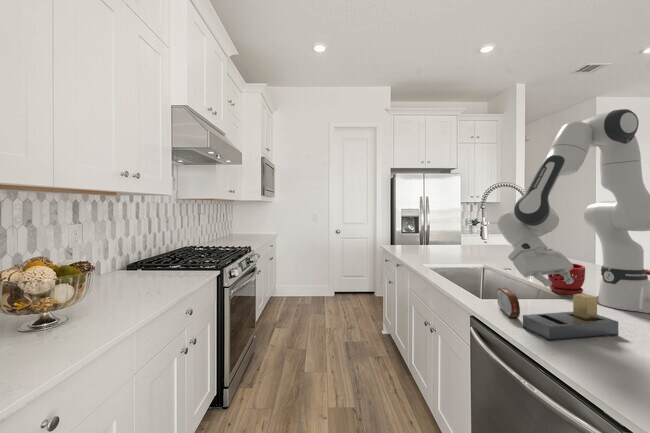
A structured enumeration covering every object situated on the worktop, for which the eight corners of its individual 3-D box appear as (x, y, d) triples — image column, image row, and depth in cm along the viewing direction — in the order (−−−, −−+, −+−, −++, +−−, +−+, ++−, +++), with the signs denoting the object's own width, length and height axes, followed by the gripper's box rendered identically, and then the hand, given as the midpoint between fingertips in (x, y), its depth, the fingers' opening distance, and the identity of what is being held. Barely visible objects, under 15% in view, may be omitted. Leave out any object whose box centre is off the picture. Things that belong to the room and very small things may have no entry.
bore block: (585, 323, 101) (585, 310, 101) (618, 335, 91) (618, 321, 91) (522, 327, 99) (522, 315, 99) (549, 340, 89) (549, 326, 89)
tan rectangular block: (582, 325, 98) (582, 293, 98) (597, 329, 94) (597, 296, 94) (573, 326, 97) (573, 294, 97) (587, 331, 93) (587, 298, 93)
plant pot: (543, 287, 146) (543, 261, 145) (578, 289, 141) (578, 262, 140) (552, 295, 133) (552, 266, 133) (590, 297, 129) (590, 268, 128)
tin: (521, 321, 104) (520, 295, 104) (510, 320, 105) (510, 295, 105) (504, 307, 119) (504, 284, 119) (495, 306, 120) (495, 284, 120)
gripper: (547, 254, 116) (576, 286, 107) (504, 257, 110) (530, 292, 101) (560, 243, 112) (590, 276, 102) (515, 246, 106) (543, 281, 96)
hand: (560, 284), depth 101 cm, fingers open, 8 cm apart
